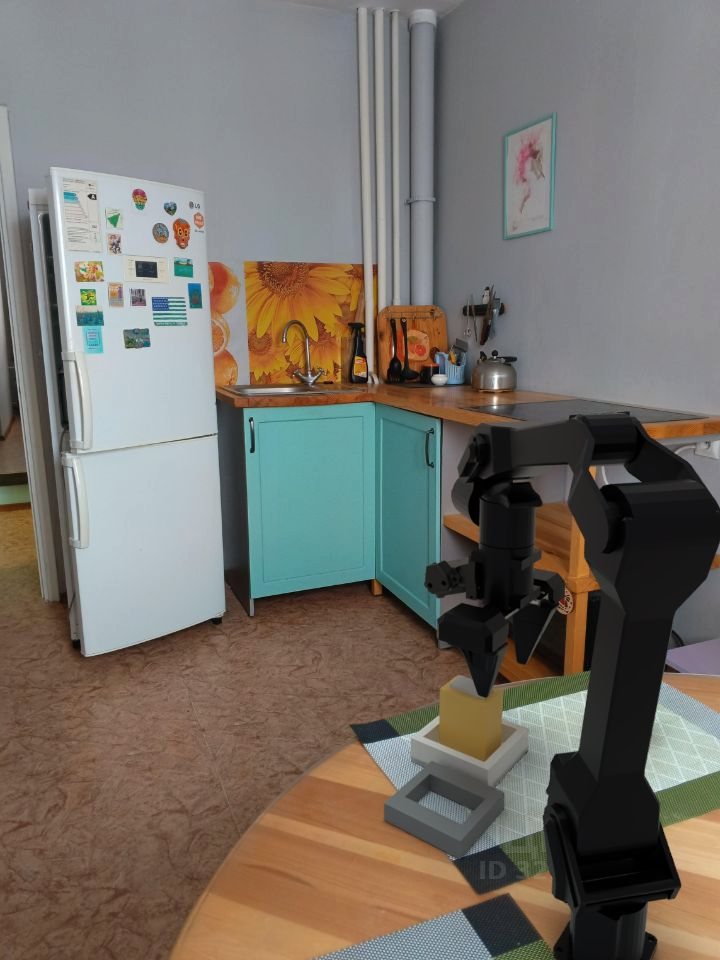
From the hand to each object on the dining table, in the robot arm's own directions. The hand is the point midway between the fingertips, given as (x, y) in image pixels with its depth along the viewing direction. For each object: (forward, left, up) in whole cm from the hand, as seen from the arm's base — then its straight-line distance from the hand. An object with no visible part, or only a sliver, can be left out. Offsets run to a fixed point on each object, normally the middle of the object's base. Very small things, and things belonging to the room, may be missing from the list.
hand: (503, 679), depth 78 cm
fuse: (+1, +5, -11) cm, 12 cm away
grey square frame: (-9, +2, -12) cm, 15 cm away
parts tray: (+1, +5, -12) cm, 13 cm away
